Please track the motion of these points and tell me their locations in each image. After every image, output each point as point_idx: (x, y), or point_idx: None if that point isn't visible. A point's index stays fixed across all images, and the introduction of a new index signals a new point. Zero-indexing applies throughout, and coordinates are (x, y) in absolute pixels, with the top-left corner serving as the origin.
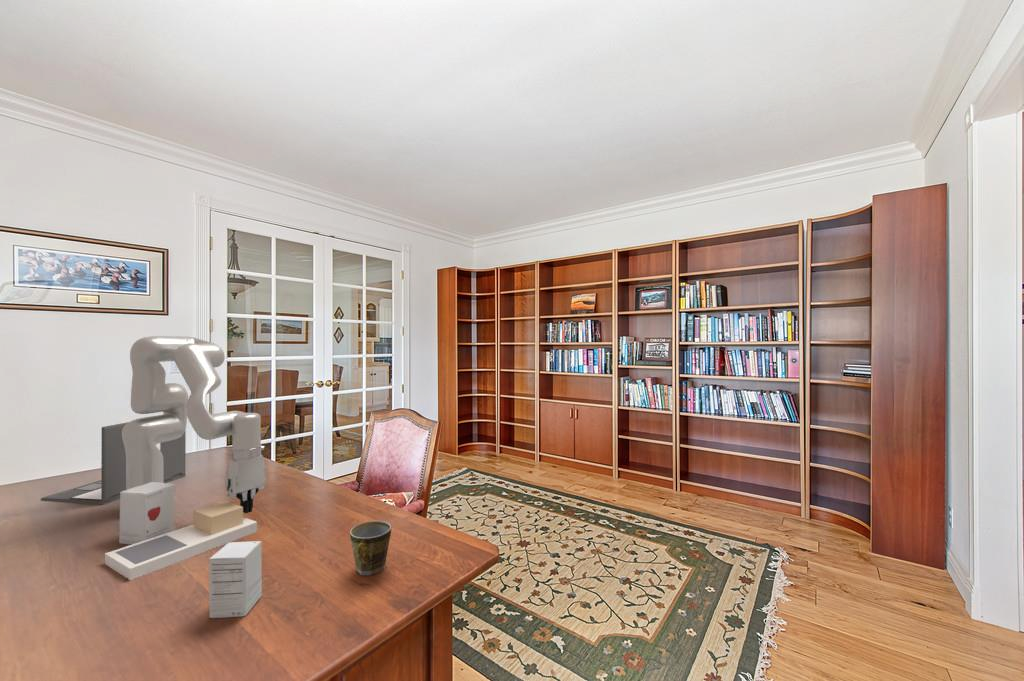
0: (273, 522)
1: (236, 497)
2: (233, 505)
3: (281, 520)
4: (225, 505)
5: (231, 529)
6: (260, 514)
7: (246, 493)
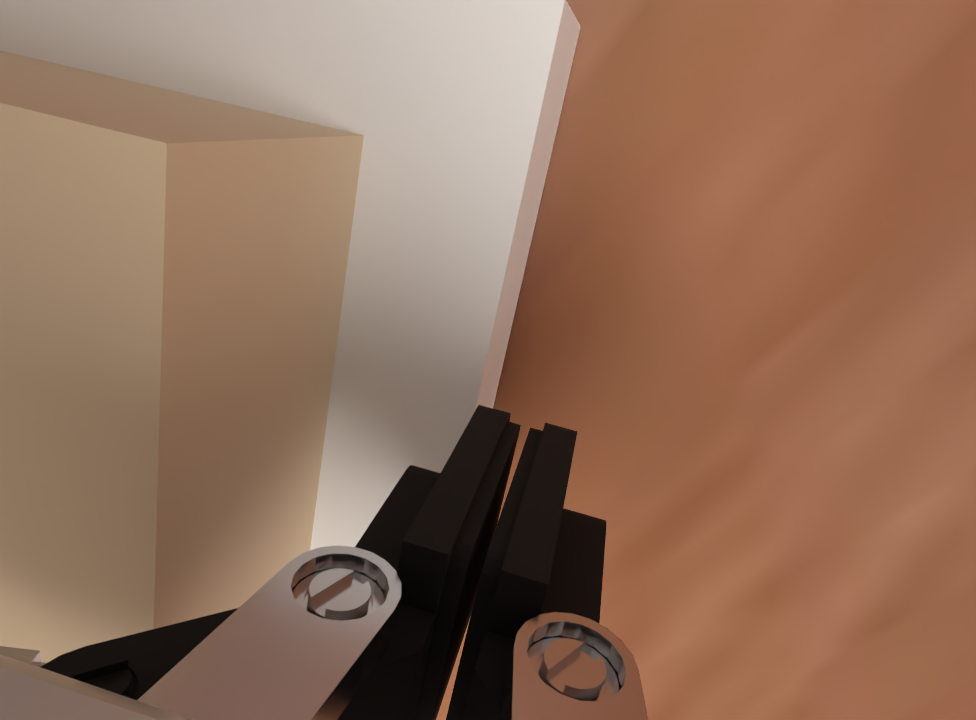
0: (708, 648)
1: (160, 639)
2: (98, 631)
3: (785, 699)
4: (10, 466)
5: None
6: (958, 278)
7: (515, 699)
